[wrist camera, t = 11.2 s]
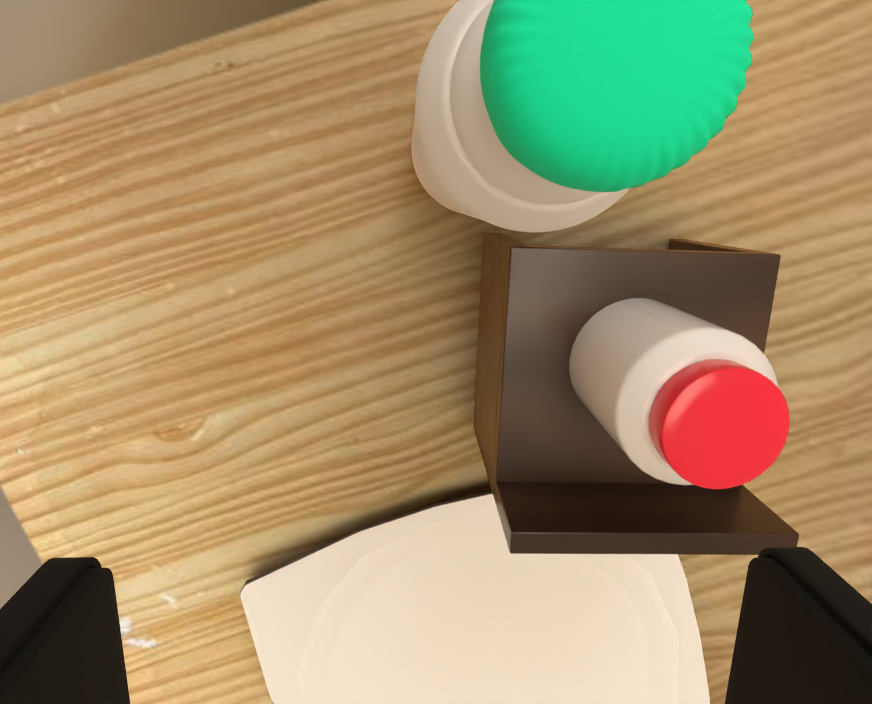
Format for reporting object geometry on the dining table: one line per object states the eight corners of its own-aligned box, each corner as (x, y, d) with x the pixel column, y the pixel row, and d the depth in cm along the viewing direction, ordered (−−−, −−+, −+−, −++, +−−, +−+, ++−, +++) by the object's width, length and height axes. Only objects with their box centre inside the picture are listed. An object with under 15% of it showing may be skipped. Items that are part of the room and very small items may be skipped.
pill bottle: (587, 439, 29) (659, 536, 21) (553, 322, 27) (616, 377, 19) (709, 399, 28) (830, 480, 20) (681, 279, 27) (799, 315, 19)
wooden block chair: (483, 233, 36) (531, 256, 22) (686, 239, 36) (853, 266, 23) (473, 427, 38) (509, 554, 25) (660, 430, 39) (795, 555, 26)
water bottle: (534, 76, 34) (861, -231, 9) (539, 208, 35) (828, 238, 11) (405, 87, 33) (398, -195, 9) (417, 219, 35) (439, 275, 11)
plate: (650, 431, 39) (667, 448, 36) (719, 771, 46) (737, 806, 44) (221, 550, 40) (208, 575, 37) (355, 867, 47) (352, 906, 44)
